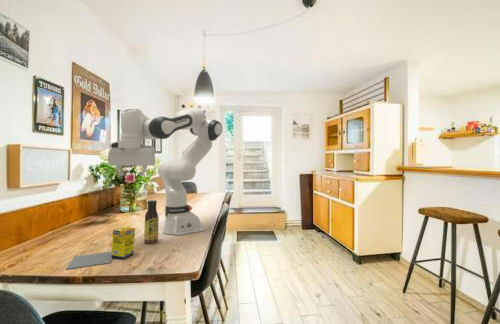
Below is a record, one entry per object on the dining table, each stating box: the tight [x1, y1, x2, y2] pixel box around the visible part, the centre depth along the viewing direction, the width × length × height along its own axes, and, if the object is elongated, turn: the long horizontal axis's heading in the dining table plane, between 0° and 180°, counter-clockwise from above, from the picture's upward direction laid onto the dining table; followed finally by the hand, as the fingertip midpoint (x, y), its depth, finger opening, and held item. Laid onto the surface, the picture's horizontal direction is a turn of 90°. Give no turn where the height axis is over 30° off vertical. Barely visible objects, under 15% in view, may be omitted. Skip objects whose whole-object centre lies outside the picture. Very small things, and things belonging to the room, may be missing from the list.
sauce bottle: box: [143, 199, 159, 244], centre depth 115 cm, size 7×6×20 cm
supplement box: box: [111, 226, 136, 259], centre depth 98 cm, size 6×6×11 cm
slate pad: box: [65, 251, 114, 271], centre depth 94 cm, size 14×12×1 cm
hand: (131, 175), depth 107 cm, fingers open, 8 cm apart
